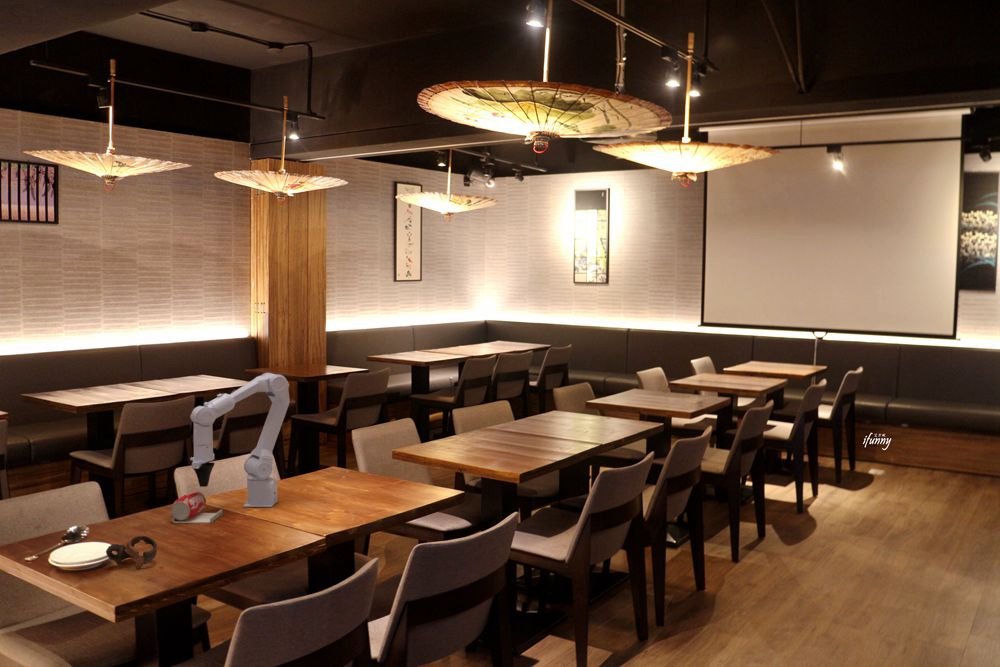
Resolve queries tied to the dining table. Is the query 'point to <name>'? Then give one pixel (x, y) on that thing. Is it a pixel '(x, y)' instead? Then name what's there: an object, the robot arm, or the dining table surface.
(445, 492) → the dining table surface
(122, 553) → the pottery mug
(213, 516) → the grey tray
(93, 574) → the dining table surface
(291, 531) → the dining table surface
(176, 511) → the soda can
